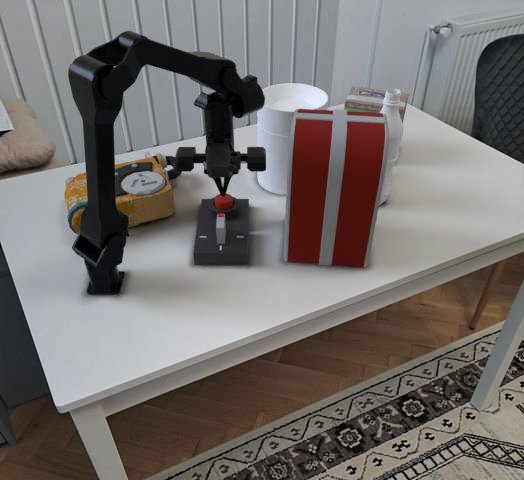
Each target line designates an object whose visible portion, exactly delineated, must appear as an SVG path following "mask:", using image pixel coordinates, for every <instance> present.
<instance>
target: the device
mask: <svg viewBox="0 0 524 480" xmlns="http://www.w3.org/2000/svg"><path fill="white" fill-rule="evenodd" d="M168 166H171V167H172V168H171V169H168V170H167V169H166V168H168ZM182 173H183V172H178V171H176V168H175V156H173V155H165V153H159V152H157V153H155V155H152V154H151V152H150V151H146V152H145V151H144V158H140V159H136V160H131V161H126V162H121V163H120V162H119V163H115V186H116V206H117V209H118V210H120V211H121V212H123V213H124V214H126V215H127V216H128V219H129V223H128V228H130V227H136V226H139V225H140V224H143V223H144V224H145V223H148V222H151V221H155V220H158V219H162V218H167V217H170V216H171V215H173V214H174V213H175V211H176V205H175V198H174V191H173V186H172V184H171V183H170V181H173V180H175V179H177V178H179V177H180V176H182ZM64 183H65V186H64V187H65V190H64V192H63V196H64V201H65V204H66V212H67V216H66V218H67V222H68V226H69V228H70V230H71V231H72V232H73V233H74V234H75V235H78V234H79V232H80V224H81V215H82V212H83V211H84V209H85V207H86V205H87V203H88V197H87V181H86V171H85V172H82V173H78V174H77V175H75V176H70V177H67V178H66V180H65V181H64Z"/></svg>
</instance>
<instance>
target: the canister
mask: <svg viewBox="0 0 524 480" xmlns="http://www.w3.org/2000/svg"><path fill="white" fill-rule="evenodd" d="M261 89H262V91H263V94H264V96H265V104H264V106H263V108H262V109H261V110H258V111H256V114H257V115H256V116H257V122H256V123H257V125H256V126H257V127H256V129H257V131H256V135H257V136H256V137H257V138H256V139H257V143H256V144H257V146H256V147H264V148H265V150H266V170H265V171H263V172H257V181H258V184H259V185H260V186H261V187H262V188H263V189H264V190H266V191H267V192H270V193H272V194H277V195H280V196H286V188H287V165H288V149H289V137H290V130H291V123H292V117H293V113H294V111H295V110H296V109H298V110H299V109H312V110H328V106H329V95H328V94H327V92H326V91H325V90H322V89H321V88H319V87H316V86H314V85H312V84H305V83H299V82H298V83H296V82H287V83H277V84H272V85H268V86H266V87H264V88H261Z"/></svg>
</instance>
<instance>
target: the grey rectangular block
mask: <svg viewBox="0 0 524 480" xmlns="http://www.w3.org/2000/svg"><path fill="white" fill-rule="evenodd" d="M216 233H217V244H225V236H226V224H225V214H217V224H216Z"/></svg>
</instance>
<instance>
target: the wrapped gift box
mask: <svg viewBox="0 0 524 480" xmlns="http://www.w3.org/2000/svg"><path fill="white" fill-rule="evenodd" d="M388 149H389V127H388V121H387V117H386V115H385V114H384V113H383V114H382V113H372V112H352V111H347V110H344V109H339V108H334V109H333V110H329V109H327V110H312V109H299V110H298V109H296V110H295V111H294V113H293V117H292V123H291V130H290V137H289V149H288V165H287V188H286V195H285V215H284V239H283V261H284V262H285V263H295V264H307V265H310V264H311V265H319V266H328V267H331V266H335V267H349V268H363V269H364V268H368V265H369V262H370V257H371V251H372V247H373V241H374V235H375V230H376V225H377V219H378V215H379V209H380V205H379V204H380V198H381V193H382V188H383V183H384V177H385V171H386V165H387V158H388Z"/></svg>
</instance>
